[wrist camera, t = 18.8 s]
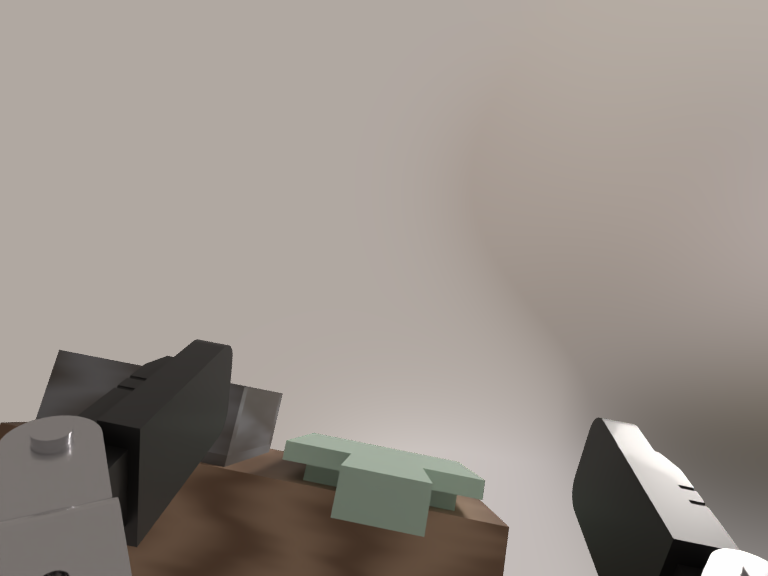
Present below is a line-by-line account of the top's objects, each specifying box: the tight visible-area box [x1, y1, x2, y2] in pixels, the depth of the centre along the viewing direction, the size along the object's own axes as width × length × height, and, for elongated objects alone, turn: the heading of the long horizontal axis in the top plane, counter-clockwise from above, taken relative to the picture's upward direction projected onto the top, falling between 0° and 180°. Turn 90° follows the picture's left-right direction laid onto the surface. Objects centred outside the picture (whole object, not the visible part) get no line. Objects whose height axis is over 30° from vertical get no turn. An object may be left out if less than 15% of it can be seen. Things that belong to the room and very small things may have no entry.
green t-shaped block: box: [282, 433, 485, 537], centre depth 27 cm, size 11×23×3 cm, turn 0°
